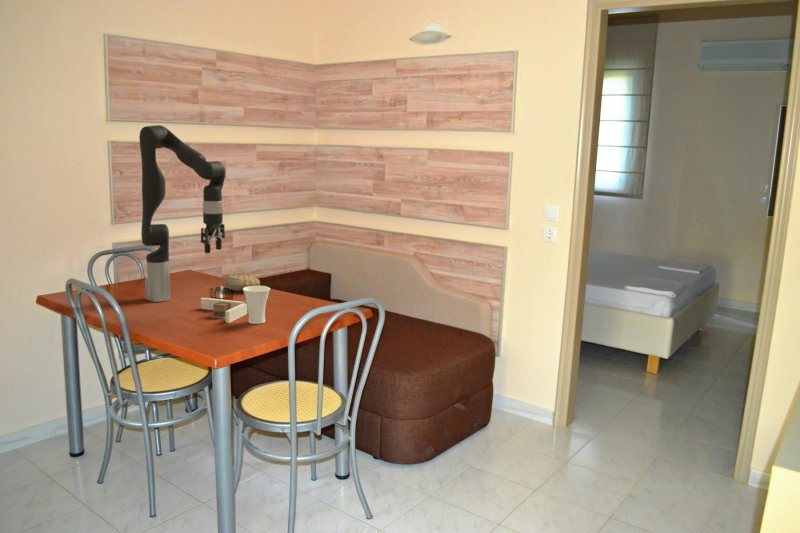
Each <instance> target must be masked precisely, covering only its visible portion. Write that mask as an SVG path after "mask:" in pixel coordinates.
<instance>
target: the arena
mask: <svg viewBox="0 0 800 533" xmlns="http://www.w3.org/2000/svg"><path fill="white" fill-rule="evenodd" d="M220 301H222V302H231V309H229V310H227V311H225V317H216V316H214V314H213V315H210V316H209V317H210V318H216V319H225V323H228V324H230V323H231V322H234V321H235V320H238V319H240V318H241V317H243V316H247V315H249V310H248V304H247V301H246V299H245V300H243V301H239V300H238V301H237V300H229V299H219V298H210V297H209V298H208V297H201V298H200V306H201V308H200V309H201V310H209V311H214V307H213V304H215V303H217V302H220Z"/></svg>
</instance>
